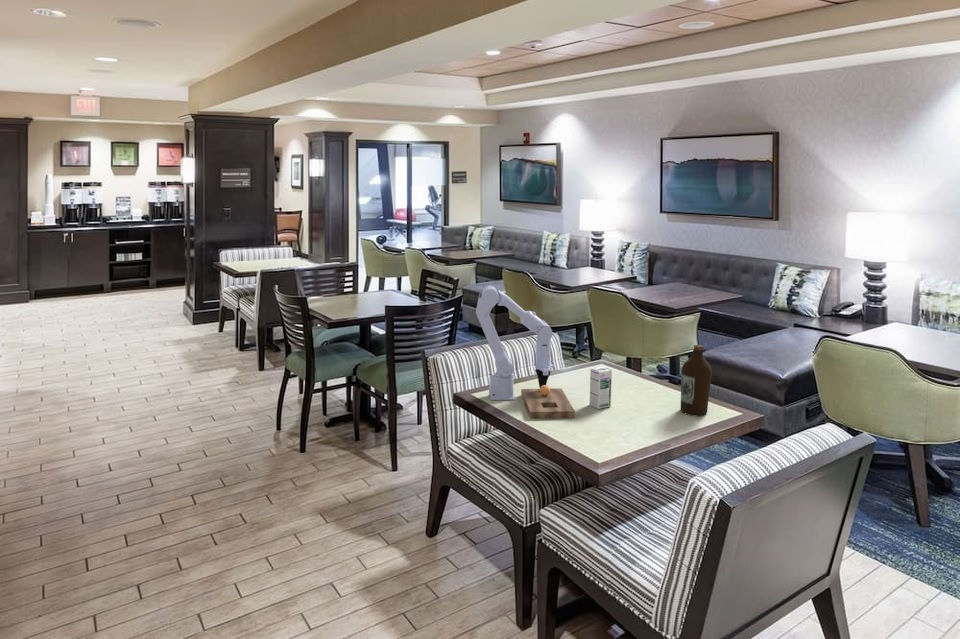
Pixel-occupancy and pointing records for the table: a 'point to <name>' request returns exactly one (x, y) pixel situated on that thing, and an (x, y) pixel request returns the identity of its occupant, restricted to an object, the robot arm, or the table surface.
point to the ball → (544, 390)
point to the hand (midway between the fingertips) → (542, 387)
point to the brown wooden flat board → (547, 404)
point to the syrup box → (600, 387)
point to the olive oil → (695, 383)
